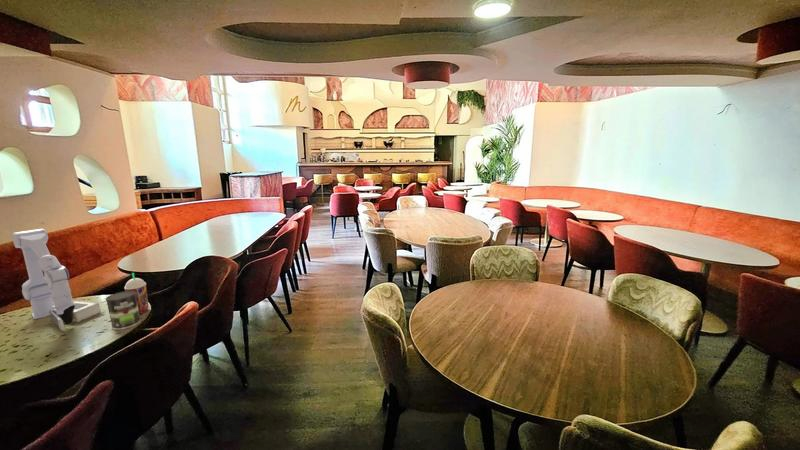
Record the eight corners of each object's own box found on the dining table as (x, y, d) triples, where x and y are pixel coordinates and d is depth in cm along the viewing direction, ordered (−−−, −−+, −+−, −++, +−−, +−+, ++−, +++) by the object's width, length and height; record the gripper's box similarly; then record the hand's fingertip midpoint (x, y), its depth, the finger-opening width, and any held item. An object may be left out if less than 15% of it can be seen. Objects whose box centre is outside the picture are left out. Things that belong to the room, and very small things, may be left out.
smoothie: (154, 310, 163) (146, 271, 159) (133, 317, 156) (125, 277, 152) (146, 306, 168) (139, 269, 163) (126, 312, 161) (118, 274, 156)
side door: (53, 319, 155) (51, 309, 154) (65, 330, 144) (62, 320, 143) (51, 320, 154) (48, 310, 153) (62, 331, 144) (60, 321, 143)
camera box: (78, 310, 165) (76, 300, 164) (101, 312, 162) (98, 302, 161) (54, 319, 155) (51, 309, 154) (78, 322, 152) (75, 311, 151)
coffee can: (143, 323, 150) (137, 294, 147) (114, 332, 143) (107, 302, 140) (138, 316, 157) (133, 288, 154) (110, 324, 150) (104, 295, 147)
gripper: (54, 291, 148) (61, 319, 151) (42, 303, 136) (51, 332, 139) (75, 288, 152) (82, 315, 155) (66, 299, 140) (73, 328, 143)
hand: (69, 323), depth 147 cm, fingers closed
